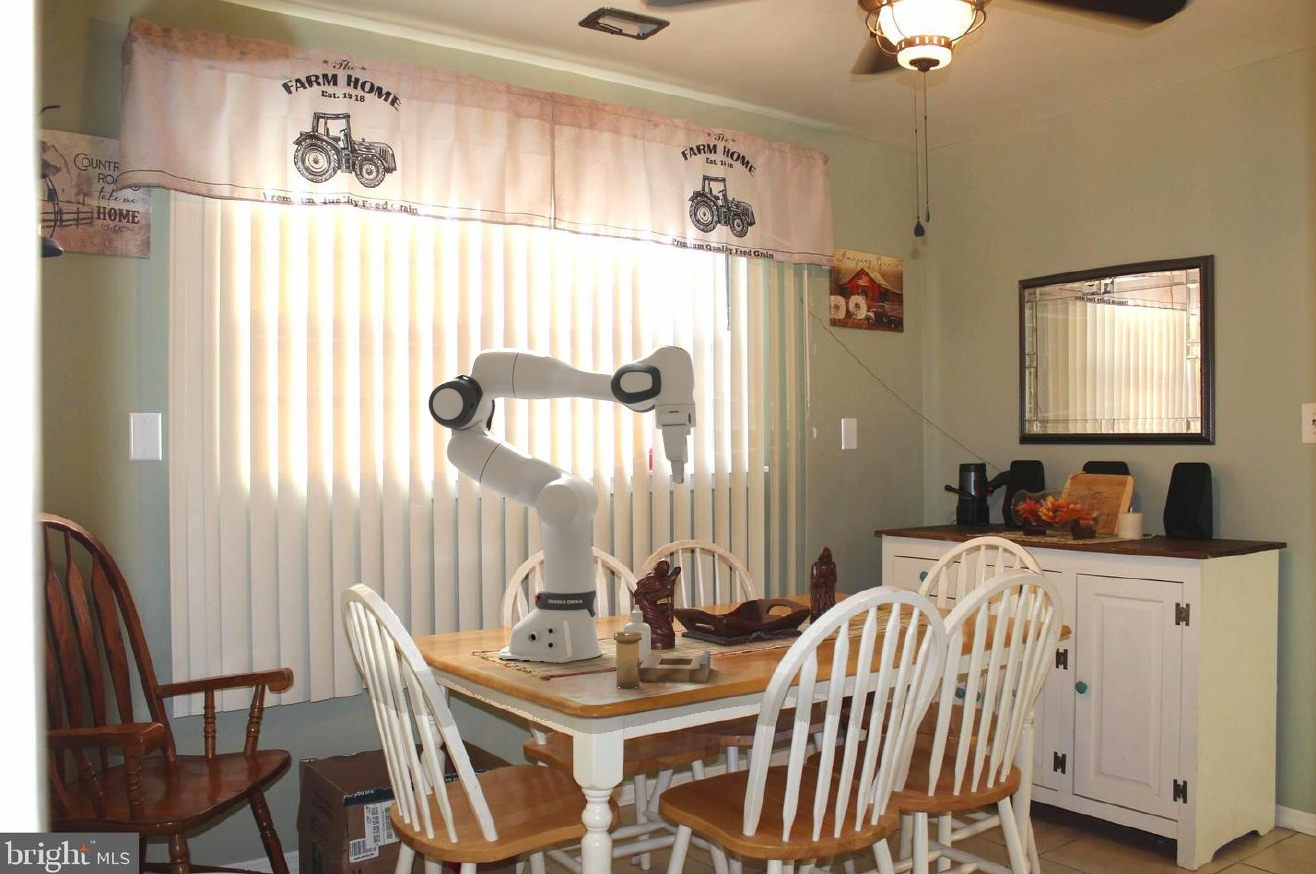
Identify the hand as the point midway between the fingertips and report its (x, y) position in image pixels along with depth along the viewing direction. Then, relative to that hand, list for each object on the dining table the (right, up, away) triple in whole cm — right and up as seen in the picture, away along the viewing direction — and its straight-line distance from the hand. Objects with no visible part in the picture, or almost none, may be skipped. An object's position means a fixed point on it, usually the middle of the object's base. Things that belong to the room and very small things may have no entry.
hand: (678, 483), depth 224 cm
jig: (-1, -38, -16) cm, 41 cm away
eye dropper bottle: (-9, -38, -3) cm, 39 cm away
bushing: (-10, -38, -27) cm, 47 cm away
